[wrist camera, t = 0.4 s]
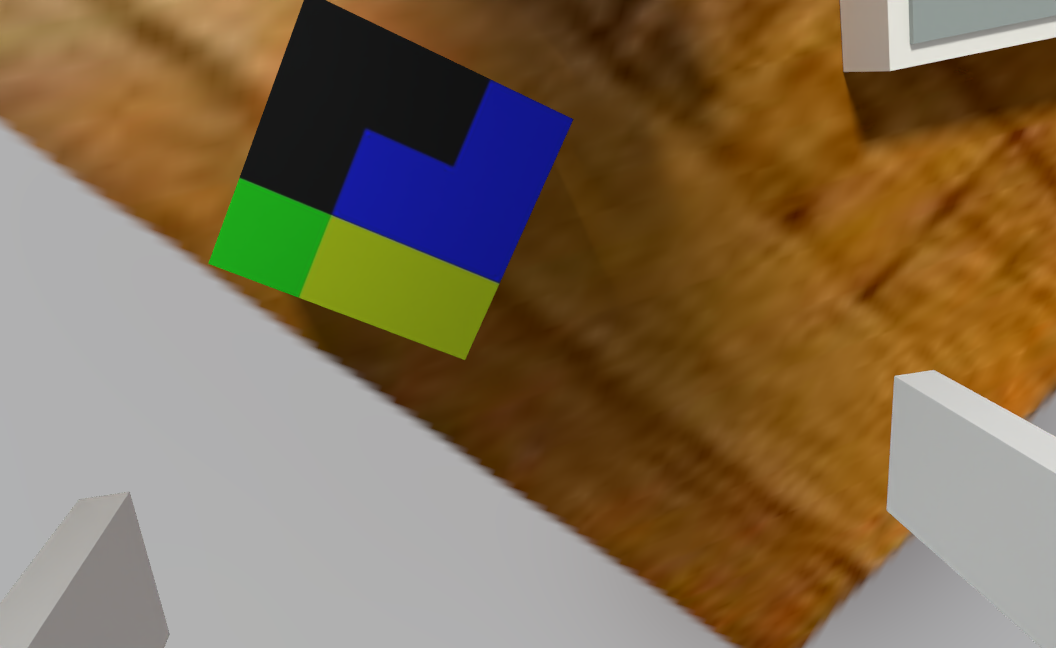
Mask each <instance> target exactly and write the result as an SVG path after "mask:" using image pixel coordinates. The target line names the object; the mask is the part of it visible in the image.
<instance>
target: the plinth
mask: <svg viewBox="0 0 1056 648" xmlns="http://www.w3.org/2000/svg"><path fill="white" fill-rule="evenodd" d="M840 12H841V31H842V51H843V70H844V72H868V71H893V70H898V69H903V68H908V67H913V66H917V65H922V64H927V63H932V62H937V61H942V60H947V59H952V58H957V57H961V56H966V55H971V54H976V53H981V52H986V51H991V50H996V49H1001V48H1005V47H1010V46H1015V45H1020V44H1025V43H1030V42H1035V41H1040V40H1045V39H1049V38H1054V37H1056V0H840Z"/></svg>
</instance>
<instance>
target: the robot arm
mask: <svg viewBox="0 0 1056 648" xmlns="http://www.w3.org/2000/svg"><path fill="white" fill-rule="evenodd" d="M887 511H888V512H889V513H890V514H891V515H892V516H894V517H895V518H896V519H897V520H898V521H899V522H900V523H901V524H902V525H904V526H905V527H906V528H907V529H908V530H909V531H910V532H911V533H913V534H914V535H915V536H916V537H917V538H918V539H919V540H921V541H922V542H923V543H924V544H925V545H926V546H927V547H928V548H930V549H931V550H932V551H933V552H934V553H935V554H936V555H937V556H938V557H940V558H941V559H942V560H943V561H944V562H945V563H946V564H947V565H949V566H950V567H951V568H952V569H953V570H954V571H955V572H956V573H957V574H959V575H960V576H961V577H962V578H963V579H964V580H965V581H966V582H968V583H969V584H970V585H971V586H972V587H973V588H974V589H976V590H977V591H978V592H979V593H980V594H981V595H982V596H983V597H984V598H986V599H987V600H988V601H989V602H990V603H991V604H992V605H993V606H995V607H996V608H997V609H998V610H999V611H1000V612H1001V613H1002V614H1004V615H1005V616H1006V617H1007V618H1008V619H1009V620H1010V621H1011V622H1013V623H1014V624H1015V625H1016V626H1017V627H1018V628H1019V629H1020V630H1021V631H1023V632H1024V633H1025V634H1026V635H1027V636H1028V637H1029V638H1030V639H1032V640H1033V641H1034V642H1035V643H1036V644H1037V645H1038V646H1039V647H1041V648H1056V437H1055V436H1053V435H1051V434H1050V433H1048V432H1046V431H1044V430H1042V429H1040V428H1039V427H1037V426H1035V425H1033V424H1031V423H1030V422H1028V421H1026V420H1024V419H1022V418H1020V417H1019V416H1017V415H1015V414H1013V413H1011V412H1010V411H1008V410H1006V409H1004V408H1002V407H1000V406H999V405H997V404H995V403H993V402H991V401H989V400H988V399H986V398H984V397H982V396H980V395H979V394H977V393H975V392H973V391H971V390H969V389H968V388H966V387H964V386H962V385H960V384H958V383H957V382H955V381H953V380H951V379H949V378H948V377H946V376H944V375H942V374H940V373H938V372H937V371H935V370H931V371H924V372H918V373H911V374H905V375H898V376H894V393H893V410H892V427H891V444H890V462H889V479H888V496H887ZM168 637H169V630H168V627H167V623H166V620H165V616H164V612H163V609H162V605H161V602H160V598H159V595H158V591H157V588H156V584H155V580H154V577H153V573H152V570H151V566H150V563H149V559H148V556H147V552H146V548H145V545H144V542H143V538H142V534H141V531H140V527H139V524H138V520H137V516H136V513H135V509H134V506H133V502H132V499H131V495H130V492H124V493H118V494H111V495H104V496H99V497H91V498H85V499H79V500H78V501H77V503H76V504H75V505H74V507H73V508H72V509H71V511H70V512H69V513H68V515H67V516H66V517H65V519H64V520H63V521H62V522H61V524H60V525H59V526H58V528H57V529H56V530H55V532H54V533H53V534H52V536H51V537H50V538H49V539H48V541H47V542H46V544H45V545H44V546H43V547H42V549H41V550H40V551H39V553H38V554H37V555H36V557H35V558H34V559H33V561H32V562H31V563H30V565H29V566H28V567H27V568H26V570H25V571H24V572H23V574H22V575H21V576H20V578H19V579H18V580H17V581H16V583H15V584H14V585H13V587H12V588H11V589H10V591H9V592H8V593H7V595H6V596H5V597H4V599H3V600H2V601H1V603H0V648H164V647H165V644H166V642H167V639H168Z"/></svg>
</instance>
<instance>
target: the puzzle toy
mask: <svg viewBox="0 0 1056 648" xmlns="http://www.w3.org/2000/svg"><path fill="white" fill-rule="evenodd" d="M572 121H573V119H572V118H570V117H568V116H566V115H564V114H562V113H559V112H557V111H555V110H553V109H551V108H549V107H547V106H545V105H543V104H541V103H539V102H536V101H534V100H532V99H530V98H528V97H526V96H524V95H522V94H520V93H518V92H516V91H514V90H511V89H509V88H507V87H505V86H503V85H501V84H499V83H497V82H495V81H493V80H491V79H489V78H486V77H484V76H482V75H480V74H478V73H476V72H474V71H472V70H470V69H468V68H466V67H463V66H461V65H459V64H457V63H455V62H453V61H451V60H449V59H447V58H445V57H443V56H441V55H438V54H436V53H434V52H432V51H430V50H428V49H426V48H424V47H422V46H420V45H418V44H416V43H413V42H411V41H409V40H407V39H405V38H403V37H401V36H399V35H397V34H395V33H393V32H390V31H388V30H386V29H384V28H382V27H380V26H378V25H376V24H374V23H372V22H370V21H368V20H365V19H363V18H361V17H359V16H357V15H355V14H353V13H351V12H349V11H347V10H345V9H343V8H340V7H338V6H336V5H334V4H332V3H330V2H328V1H326V0H304V2H303V4H302V7H301V10H300V13H299V15H298V18H297V21H296V24H295V26H294V29H293V32H292V35H291V37H290V40H289V43H288V46H287V48H286V51H285V54H284V57H283V59H282V62H281V65H280V68H279V70H278V73H277V76H276V79H275V82H274V84H273V87H272V90H271V93H270V95H269V98H268V101H267V104H266V106H265V109H264V112H263V115H262V117H261V120H260V123H259V126H258V128H257V131H256V134H255V137H254V139H253V142H252V145H251V148H250V150H249V153H248V156H247V159H246V162H245V164H244V167H243V170H242V173H241V175H240V178H239V181H238V184H237V186H236V189H235V192H234V195H233V197H232V200H231V203H230V206H229V208H228V211H227V214H226V217H225V219H224V222H223V225H222V228H221V230H220V233H219V236H218V239H217V241H216V244H215V247H214V250H213V253H212V255H211V258H210V261H209V264H211V265H213V266H216V267H219V268H221V269H224V270H227V271H229V272H232V273H235V274H237V275H240V276H243V277H245V278H248V279H251V280H253V281H256V282H258V283H261V284H264V285H266V286H269V287H272V288H274V289H277V290H280V291H282V292H285V293H288V294H290V295H293V296H296V297H298V298H301V299H304V300H306V301H309V302H312V303H314V304H317V305H320V306H322V307H325V308H328V309H330V310H333V311H336V312H338V313H341V314H344V315H346V316H349V317H352V318H354V319H357V320H360V321H362V322H365V323H368V324H370V325H373V326H375V327H378V328H381V329H383V330H386V331H389V332H391V333H394V334H397V335H399V336H402V337H405V338H407V339H410V340H413V341H415V342H418V343H421V344H423V345H426V346H429V347H431V348H434V349H437V350H439V351H442V352H445V353H447V354H450V355H453V356H455V357H458V358H461V359H463V360H465V359H466V357H467V354H468V352H469V350H470V348H471V346H472V343H473V341H474V339H475V337H476V334H477V332H478V330H479V328H480V326H481V323H482V321H483V319H484V317H485V314H486V312H487V310H488V308H489V306H490V303H491V301H492V299H493V297H494V294H495V292H496V290H497V288H498V286H499V283H500V281H501V279H502V277H503V275H504V272H505V270H506V268H507V266H508V263H509V261H510V259H511V257H512V255H513V252H514V250H515V248H516V246H517V243H518V241H519V239H520V237H521V235H522V232H523V230H524V228H525V226H526V223H527V221H528V219H529V217H530V215H531V212H532V210H533V208H534V206H535V204H536V201H537V199H538V197H539V195H540V192H541V190H542V188H543V186H544V184H545V181H546V179H547V177H548V175H549V172H550V170H551V168H552V166H553V164H554V161H555V159H556V157H557V155H558V152H559V150H560V148H561V146H562V144H563V141H564V139H565V137H566V135H567V132H568V130H569V128H570V126H571V124H572Z"/></svg>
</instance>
